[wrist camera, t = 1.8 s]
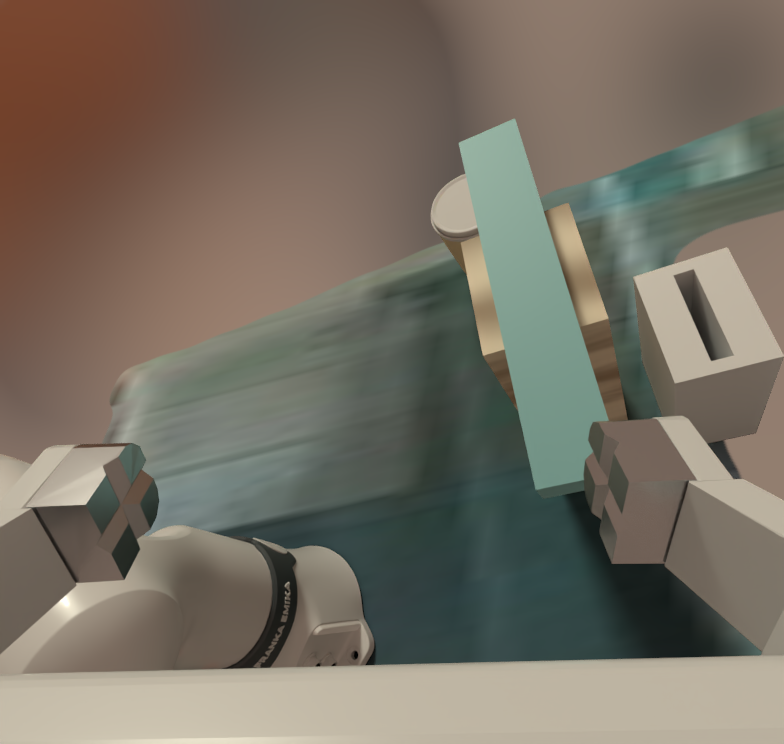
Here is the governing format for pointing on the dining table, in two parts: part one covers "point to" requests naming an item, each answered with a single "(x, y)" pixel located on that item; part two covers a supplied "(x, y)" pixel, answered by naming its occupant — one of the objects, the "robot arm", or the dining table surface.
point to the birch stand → (582, 298)
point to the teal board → (533, 312)
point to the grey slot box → (706, 345)
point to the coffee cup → (455, 217)
